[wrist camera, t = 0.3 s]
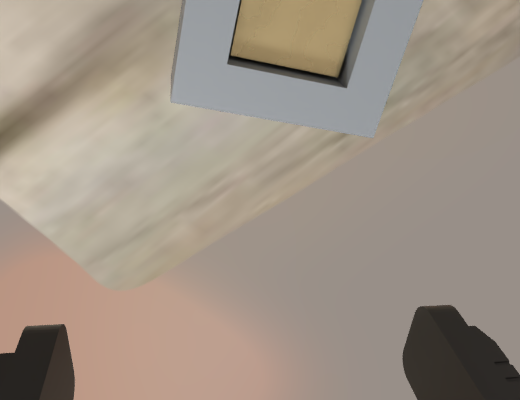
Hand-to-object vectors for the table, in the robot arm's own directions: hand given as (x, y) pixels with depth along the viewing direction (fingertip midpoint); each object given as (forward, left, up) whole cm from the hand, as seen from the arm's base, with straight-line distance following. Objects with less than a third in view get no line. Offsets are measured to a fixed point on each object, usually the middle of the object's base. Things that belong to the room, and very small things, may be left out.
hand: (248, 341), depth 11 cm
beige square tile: (-5, +5, -25) cm, 26 cm away
